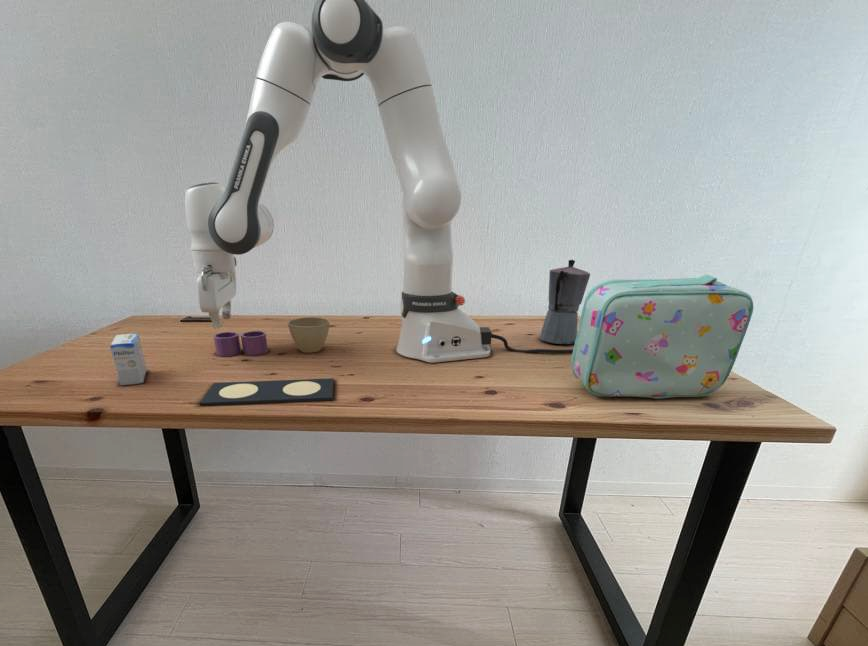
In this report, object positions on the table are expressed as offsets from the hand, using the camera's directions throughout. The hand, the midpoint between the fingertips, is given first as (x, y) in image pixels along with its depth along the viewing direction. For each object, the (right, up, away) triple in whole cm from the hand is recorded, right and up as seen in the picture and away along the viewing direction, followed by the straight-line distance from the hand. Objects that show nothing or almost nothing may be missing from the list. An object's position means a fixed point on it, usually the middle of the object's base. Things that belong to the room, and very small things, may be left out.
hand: (222, 323), depth 108 cm
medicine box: (-14, -14, -12) cm, 24 cm away
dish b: (0, -7, +3) cm, 7 cm away
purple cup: (+7, -6, +3) cm, 10 cm away
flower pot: (+20, -6, +4) cm, 22 cm away
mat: (+16, -17, -21) cm, 31 cm away
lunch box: (+88, -17, -22) cm, 92 cm away
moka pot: (+83, -3, +8) cm, 84 cm away
